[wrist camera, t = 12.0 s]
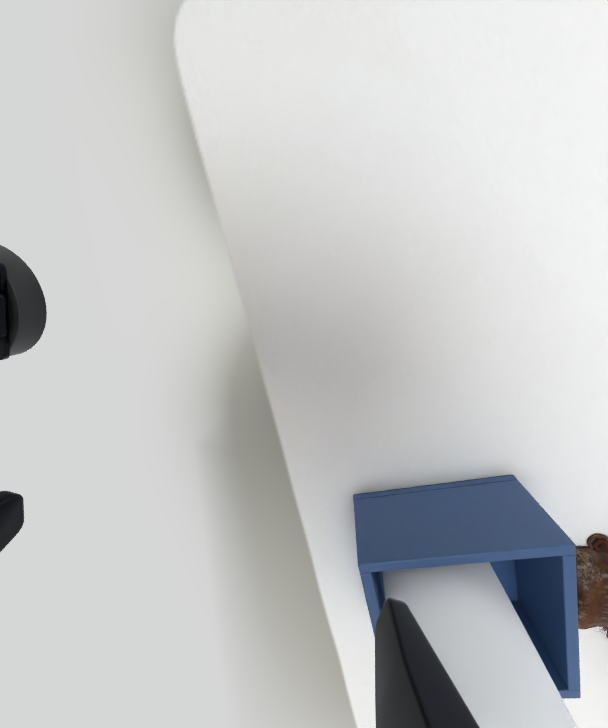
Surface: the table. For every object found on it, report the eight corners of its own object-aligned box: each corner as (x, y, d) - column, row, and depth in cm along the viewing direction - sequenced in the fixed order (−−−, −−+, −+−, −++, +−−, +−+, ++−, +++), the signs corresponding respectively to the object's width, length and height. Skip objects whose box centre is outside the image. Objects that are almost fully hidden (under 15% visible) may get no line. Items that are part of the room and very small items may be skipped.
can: (467, 499, 20) (642, 795, 9) (484, 578, 22) (652, 923, 10) (368, 516, 21) (403, 798, 10) (389, 590, 23) (443, 913, 11)
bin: (353, 494, 22) (357, 564, 16) (513, 474, 20) (576, 544, 15) (378, 609, 24) (389, 702, 19) (523, 599, 22) (581, 698, 17)
